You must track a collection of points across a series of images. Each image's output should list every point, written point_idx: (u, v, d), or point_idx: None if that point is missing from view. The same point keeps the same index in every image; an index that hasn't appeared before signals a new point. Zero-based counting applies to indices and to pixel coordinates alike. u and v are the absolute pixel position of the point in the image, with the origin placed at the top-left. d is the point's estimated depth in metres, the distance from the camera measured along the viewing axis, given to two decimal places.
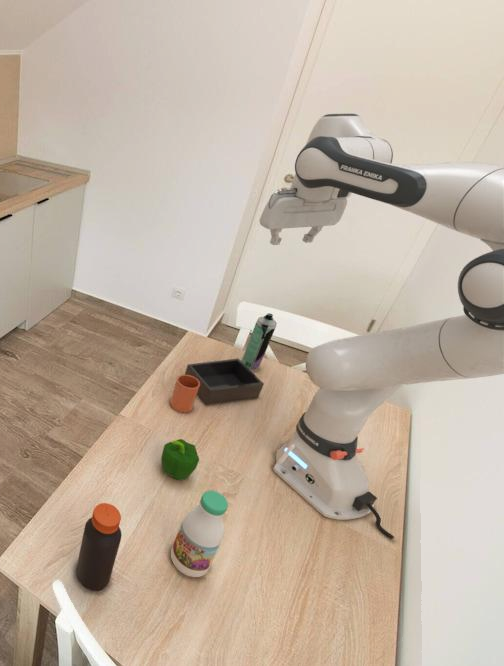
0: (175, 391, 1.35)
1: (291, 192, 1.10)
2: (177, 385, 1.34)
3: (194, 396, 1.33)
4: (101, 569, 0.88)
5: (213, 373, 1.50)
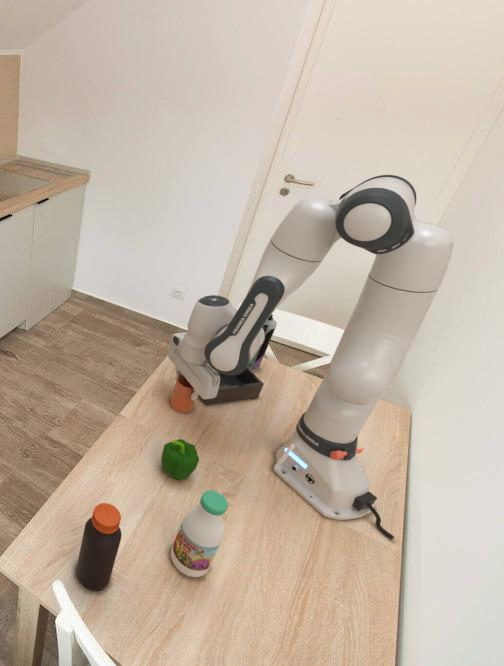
0: (175, 391, 1.35)
1: None
2: (177, 385, 1.34)
3: None
4: (101, 569, 0.88)
5: None
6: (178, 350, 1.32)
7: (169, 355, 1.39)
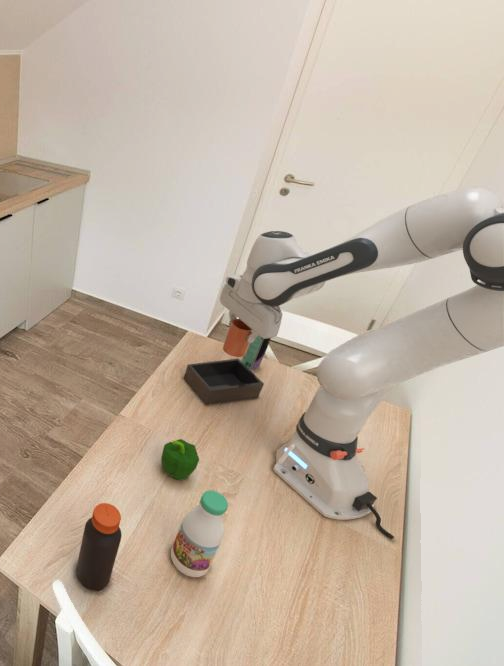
0: (229, 335, 1.32)
1: None
2: (232, 328, 1.31)
3: None
4: (101, 569, 0.88)
5: (213, 373, 1.50)
6: (234, 292, 1.29)
7: (222, 300, 1.36)
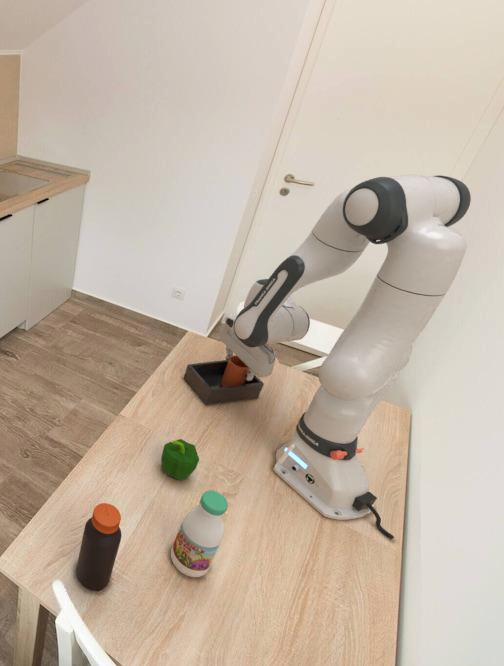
0: (227, 371, 1.43)
1: None
2: (229, 365, 1.41)
3: None
4: (101, 569, 0.88)
5: (213, 373, 1.50)
6: (232, 331, 1.39)
7: (221, 337, 1.46)
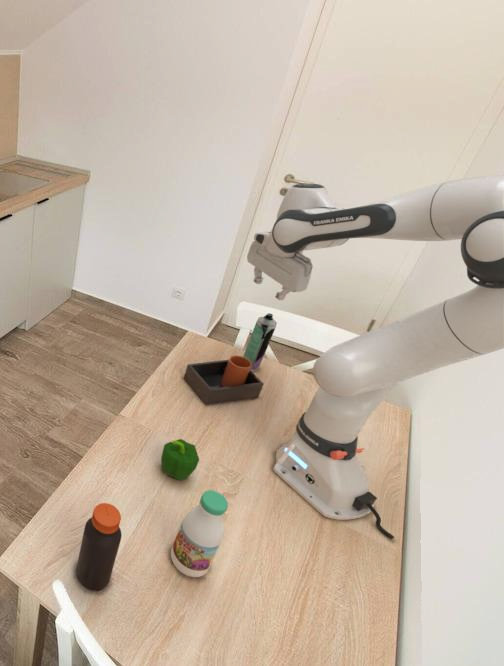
0: (227, 371, 1.43)
1: None
2: (229, 365, 1.41)
3: (246, 375, 1.41)
4: (101, 569, 0.88)
5: (213, 373, 1.50)
6: (262, 248, 1.30)
7: (249, 258, 1.36)
